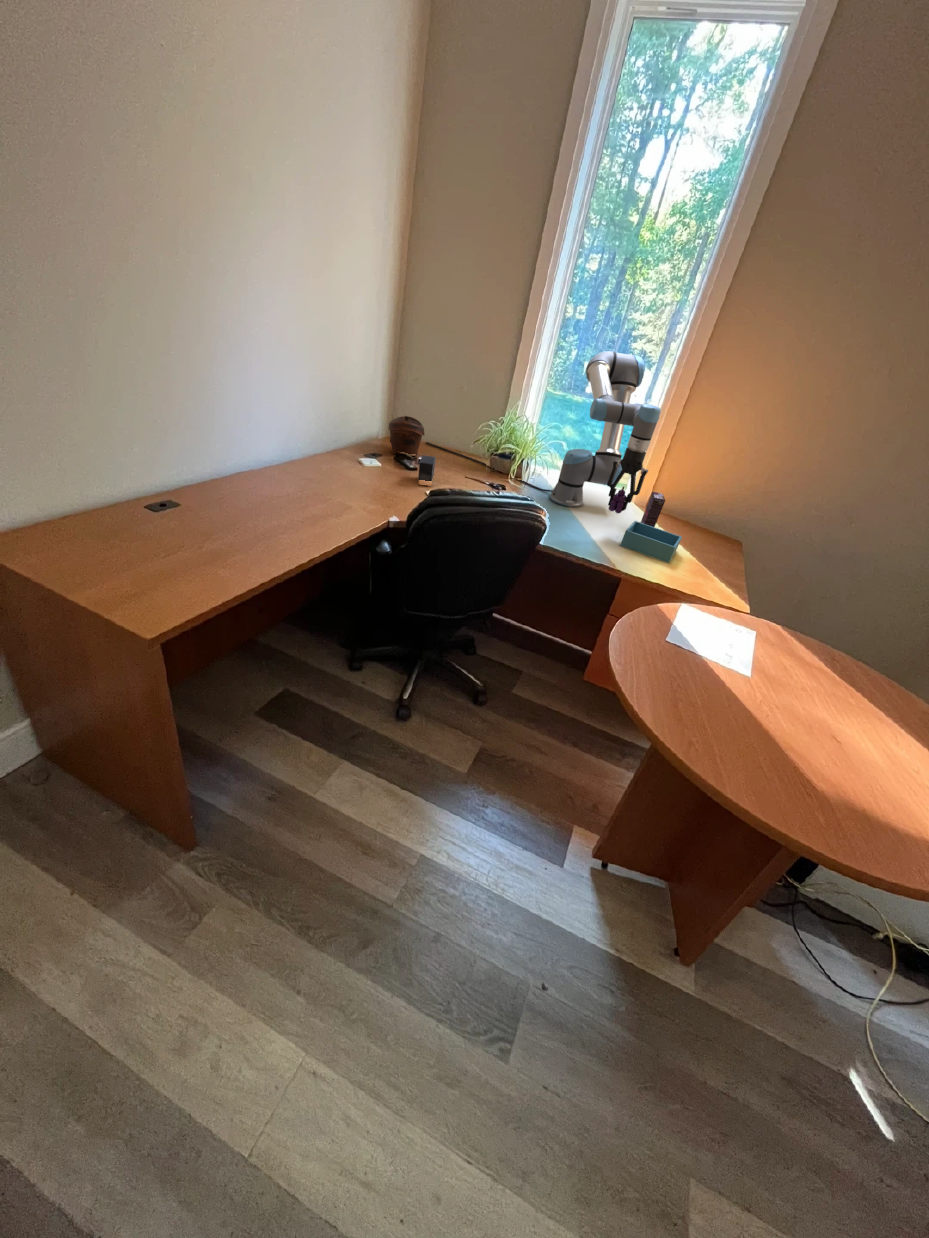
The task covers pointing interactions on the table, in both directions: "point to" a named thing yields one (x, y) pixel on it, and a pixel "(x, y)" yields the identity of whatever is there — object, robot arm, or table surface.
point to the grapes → (618, 501)
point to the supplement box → (653, 509)
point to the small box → (426, 468)
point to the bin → (651, 541)
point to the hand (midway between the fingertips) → (616, 506)
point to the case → (405, 434)
